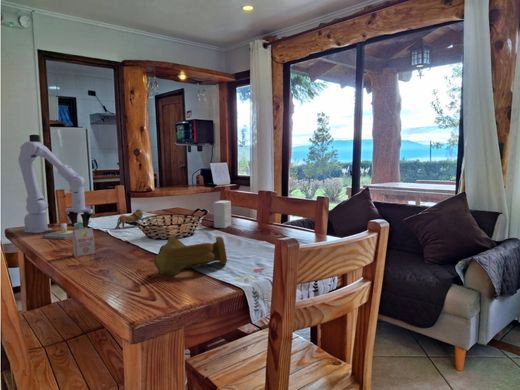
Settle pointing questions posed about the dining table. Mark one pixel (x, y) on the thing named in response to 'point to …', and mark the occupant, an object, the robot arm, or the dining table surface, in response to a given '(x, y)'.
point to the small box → (222, 214)
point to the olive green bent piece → (188, 255)
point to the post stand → (60, 233)
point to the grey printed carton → (83, 242)
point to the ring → (79, 226)
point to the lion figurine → (130, 218)
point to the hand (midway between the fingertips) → (80, 226)
